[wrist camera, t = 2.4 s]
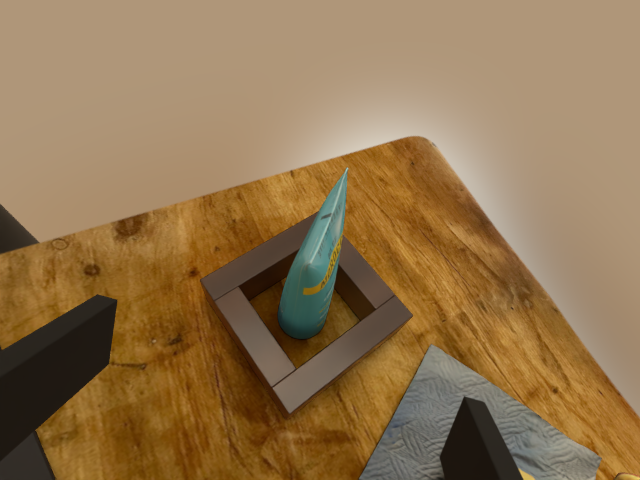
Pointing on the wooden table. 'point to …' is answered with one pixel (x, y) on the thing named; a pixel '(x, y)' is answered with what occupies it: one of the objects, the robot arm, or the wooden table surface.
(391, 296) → the square wooden frame
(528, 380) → the wooden table surface
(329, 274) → the tube
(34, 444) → the mat
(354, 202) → the wooden table surface
